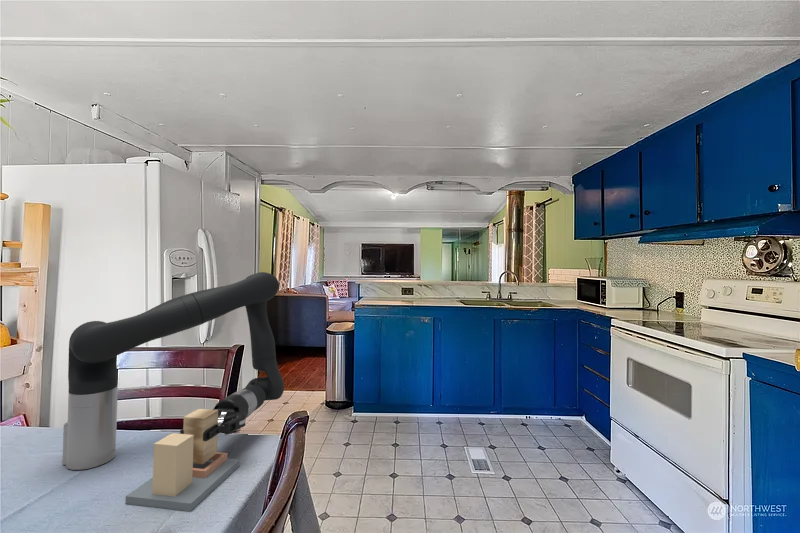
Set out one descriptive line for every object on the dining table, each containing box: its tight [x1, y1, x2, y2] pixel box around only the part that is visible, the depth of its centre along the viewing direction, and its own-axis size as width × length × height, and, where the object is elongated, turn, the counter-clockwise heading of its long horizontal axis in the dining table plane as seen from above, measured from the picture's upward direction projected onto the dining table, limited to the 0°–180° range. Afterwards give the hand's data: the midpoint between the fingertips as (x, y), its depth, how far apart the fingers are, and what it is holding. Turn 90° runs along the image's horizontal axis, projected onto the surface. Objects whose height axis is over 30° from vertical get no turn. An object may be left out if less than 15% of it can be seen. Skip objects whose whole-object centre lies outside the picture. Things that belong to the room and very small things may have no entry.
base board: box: [125, 432, 241, 512], centre depth 81 cm, size 14×17×12 cm
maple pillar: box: [183, 408, 219, 464], centre depth 85 cm, size 5×5×10 cm
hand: (193, 435), depth 83 cm, fingers closed on maple pillar, 5 cm apart
